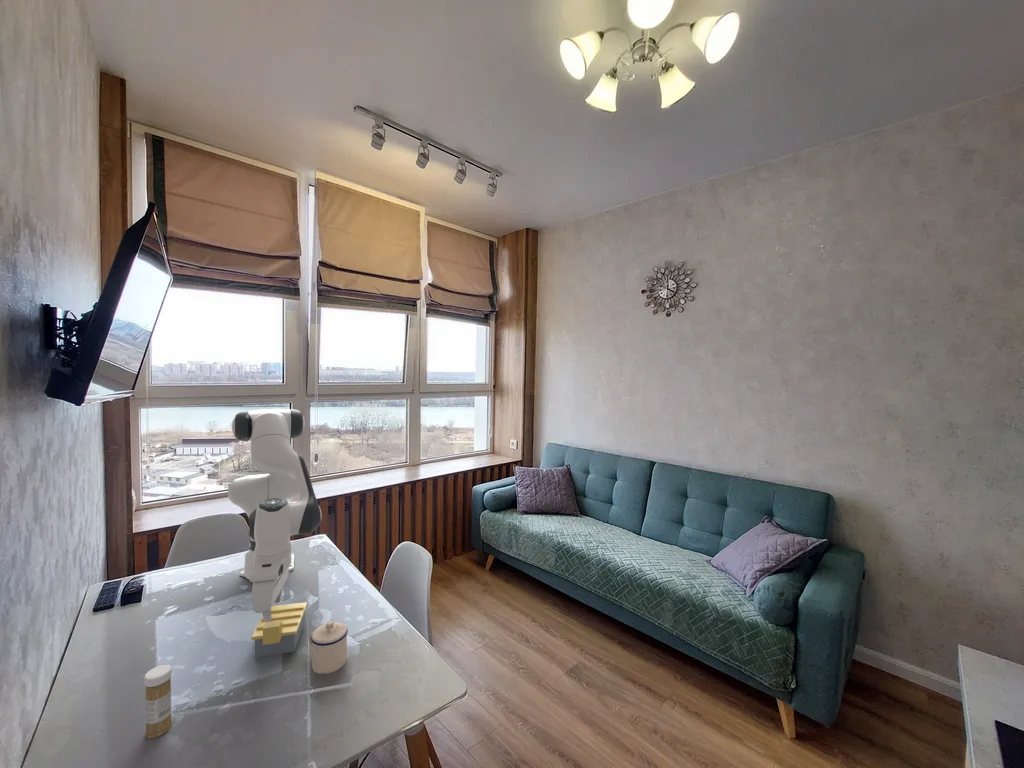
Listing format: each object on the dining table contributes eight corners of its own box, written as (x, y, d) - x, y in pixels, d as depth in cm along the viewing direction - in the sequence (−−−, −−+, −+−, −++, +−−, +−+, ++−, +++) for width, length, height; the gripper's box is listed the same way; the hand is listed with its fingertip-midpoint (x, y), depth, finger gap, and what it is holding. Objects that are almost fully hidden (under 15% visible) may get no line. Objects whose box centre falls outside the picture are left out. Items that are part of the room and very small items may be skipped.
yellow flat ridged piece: (267, 609, 128) (267, 594, 128) (307, 604, 131) (307, 590, 131) (247, 647, 111) (247, 630, 111) (294, 640, 114) (294, 624, 114)
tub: (269, 629, 128) (269, 610, 128) (304, 624, 131) (304, 605, 130) (254, 659, 114) (254, 638, 114) (294, 653, 117) (294, 632, 117)
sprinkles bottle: (168, 718, 95) (168, 660, 94) (174, 728, 92) (174, 669, 92) (142, 732, 91) (141, 672, 91) (148, 743, 88) (147, 681, 88)
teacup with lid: (354, 659, 115) (355, 618, 115) (327, 681, 107) (327, 636, 107) (324, 646, 121) (324, 606, 120) (295, 666, 112) (296, 623, 112)
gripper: (270, 546, 122) (270, 592, 122) (247, 579, 102) (247, 634, 103) (294, 544, 124) (294, 590, 124) (275, 576, 104) (275, 630, 104)
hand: (272, 610), depth 113 cm, fingers open, 8 cm apart
